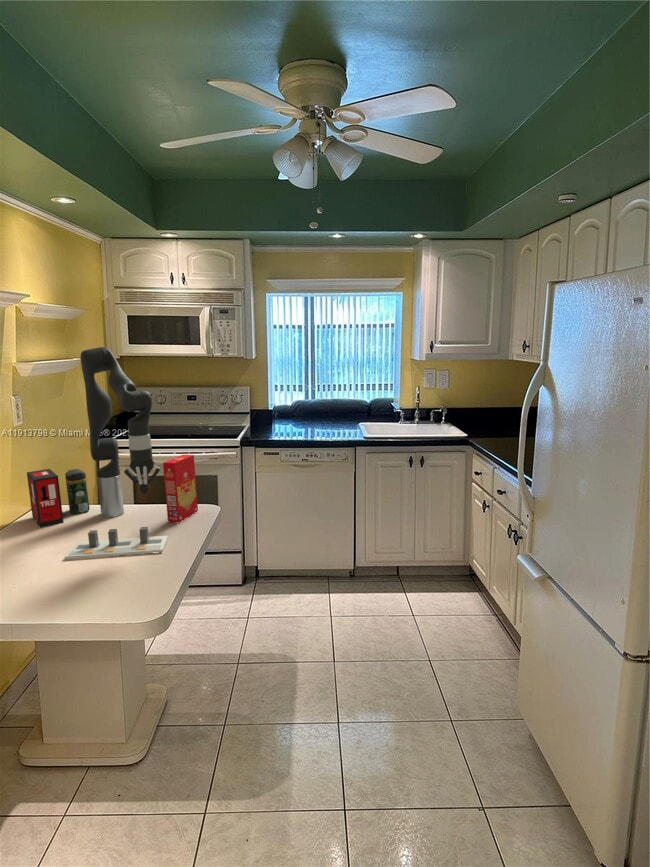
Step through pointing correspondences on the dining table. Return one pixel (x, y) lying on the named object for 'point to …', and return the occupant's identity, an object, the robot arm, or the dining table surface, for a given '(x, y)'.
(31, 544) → the dining table surface
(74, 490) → the coffee jar
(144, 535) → the switch
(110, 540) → the middle switch
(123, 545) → the switch panel
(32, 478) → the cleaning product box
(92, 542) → the switch
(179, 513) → the food packaging
